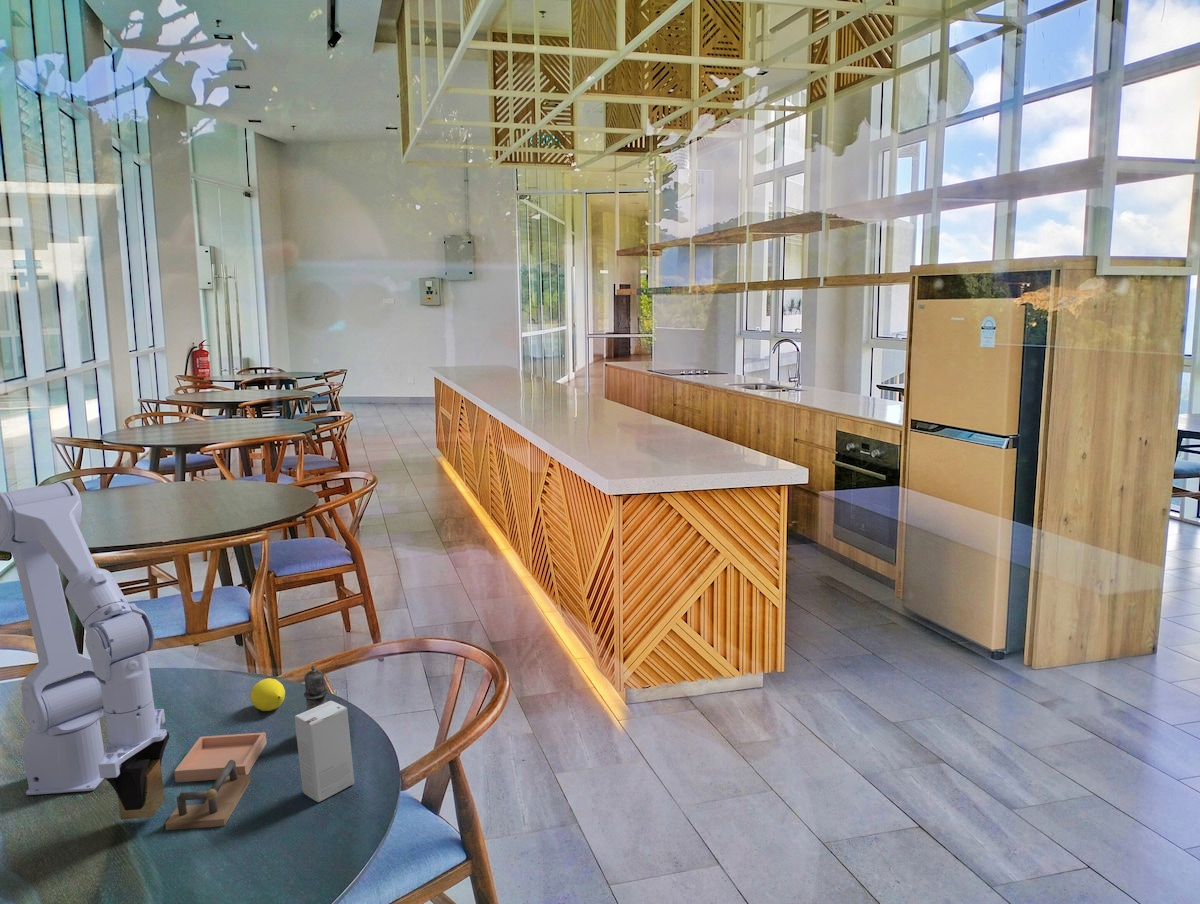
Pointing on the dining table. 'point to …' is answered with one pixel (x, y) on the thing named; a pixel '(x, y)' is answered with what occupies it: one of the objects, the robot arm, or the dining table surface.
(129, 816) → the hollow wooden box
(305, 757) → the skincare box
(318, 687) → the dark grey chess piece
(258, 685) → the lemon
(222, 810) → the bent wire
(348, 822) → the dining table surface
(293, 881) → the dining table surface
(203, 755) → the dish
